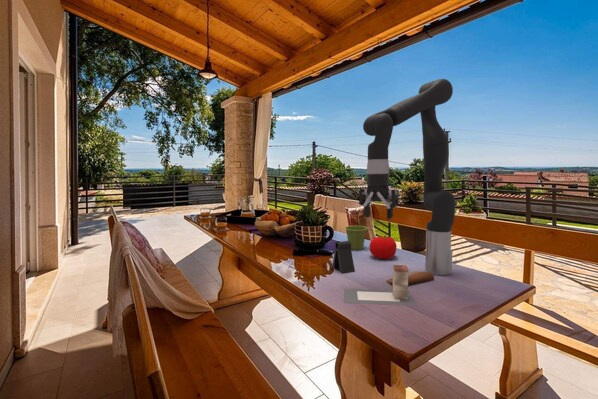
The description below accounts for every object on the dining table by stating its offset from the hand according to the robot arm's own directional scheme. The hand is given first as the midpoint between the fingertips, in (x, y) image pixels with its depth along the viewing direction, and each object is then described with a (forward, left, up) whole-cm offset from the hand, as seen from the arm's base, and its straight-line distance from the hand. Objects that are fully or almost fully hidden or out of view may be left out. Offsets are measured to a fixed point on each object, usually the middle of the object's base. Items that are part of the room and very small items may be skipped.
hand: (378, 218), depth 113 cm
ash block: (-6, +12, -24) cm, 27 cm away
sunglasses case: (-11, -3, -25) cm, 28 cm away
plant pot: (+5, -52, -25) cm, 58 cm away
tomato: (-7, -36, -25) cm, 44 cm away
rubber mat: (+1, +12, -25) cm, 28 cm away
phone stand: (+12, -17, -25) cm, 32 cm away
